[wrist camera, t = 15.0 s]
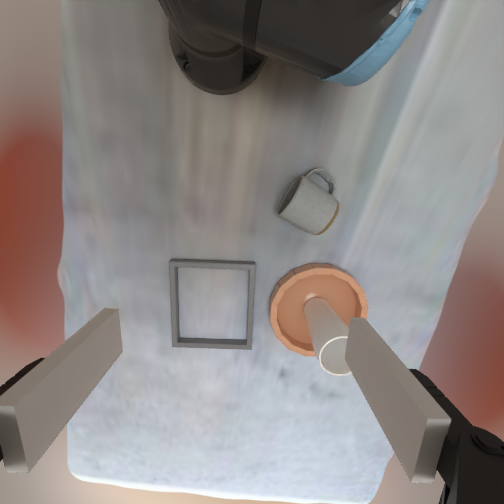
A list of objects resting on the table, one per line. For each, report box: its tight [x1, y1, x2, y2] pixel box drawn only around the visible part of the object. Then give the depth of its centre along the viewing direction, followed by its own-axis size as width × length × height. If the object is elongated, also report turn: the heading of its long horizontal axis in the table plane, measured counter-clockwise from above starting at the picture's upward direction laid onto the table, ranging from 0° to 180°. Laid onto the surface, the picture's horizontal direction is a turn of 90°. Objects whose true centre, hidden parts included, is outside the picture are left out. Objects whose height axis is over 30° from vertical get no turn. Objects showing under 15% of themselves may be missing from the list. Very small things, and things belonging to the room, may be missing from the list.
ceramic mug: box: [278, 168, 339, 235], centre depth 43 cm, size 11×8×8 cm
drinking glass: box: [303, 297, 352, 376], centre depth 44 cm, size 7×7×15 cm
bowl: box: [269, 263, 368, 356], centre depth 51 cm, size 18×18×3 cm
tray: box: [169, 259, 255, 350], centre depth 51 cm, size 18×16×2 cm
